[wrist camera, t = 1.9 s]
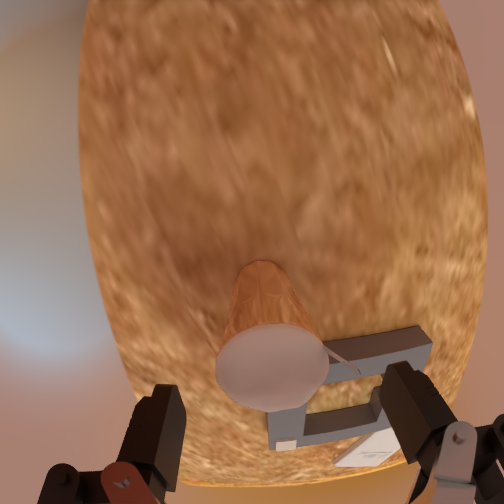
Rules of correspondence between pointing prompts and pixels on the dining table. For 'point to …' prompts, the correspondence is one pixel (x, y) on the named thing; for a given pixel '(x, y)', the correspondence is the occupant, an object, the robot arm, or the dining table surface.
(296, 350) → the milkshake
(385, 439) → the external hard drive
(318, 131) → the dining table surface
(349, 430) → the frame
